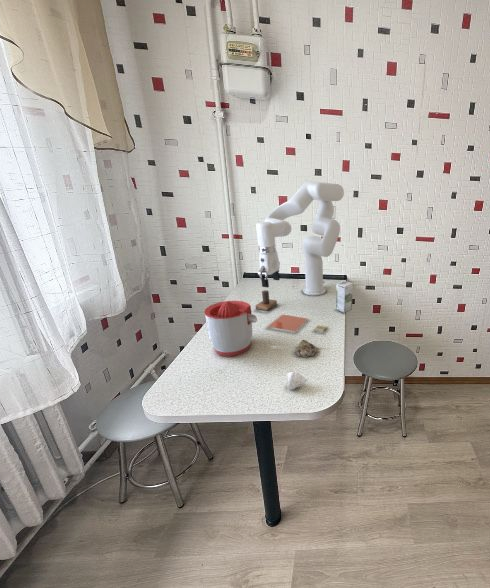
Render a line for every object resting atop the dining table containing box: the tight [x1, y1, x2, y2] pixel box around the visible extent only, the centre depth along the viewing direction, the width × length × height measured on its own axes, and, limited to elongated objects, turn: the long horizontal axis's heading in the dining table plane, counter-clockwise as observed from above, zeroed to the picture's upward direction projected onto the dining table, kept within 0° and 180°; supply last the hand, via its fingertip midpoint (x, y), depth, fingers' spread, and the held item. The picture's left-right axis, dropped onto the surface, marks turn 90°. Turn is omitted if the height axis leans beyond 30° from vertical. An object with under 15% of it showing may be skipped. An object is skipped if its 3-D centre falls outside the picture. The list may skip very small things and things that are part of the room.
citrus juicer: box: [203, 300, 258, 357], centre depth 123 cm, size 16×17×20 cm
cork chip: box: [314, 324, 328, 332], centre depth 144 cm, size 4×4×2 cm
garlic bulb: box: [286, 371, 308, 390], centre depth 106 cm, size 6×6×5 cm
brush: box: [255, 289, 278, 312], centre depth 160 cm, size 9×6×9 cm, turn 167°
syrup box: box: [335, 280, 354, 314], centre depth 162 cm, size 6×6×14 cm
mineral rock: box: [295, 339, 318, 358], centre depth 127 cm, size 11×4×8 cm
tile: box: [267, 314, 309, 332], centre depth 147 cm, size 13×13×1 cm
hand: (271, 283), depth 159 cm, fingers open, 9 cm apart
